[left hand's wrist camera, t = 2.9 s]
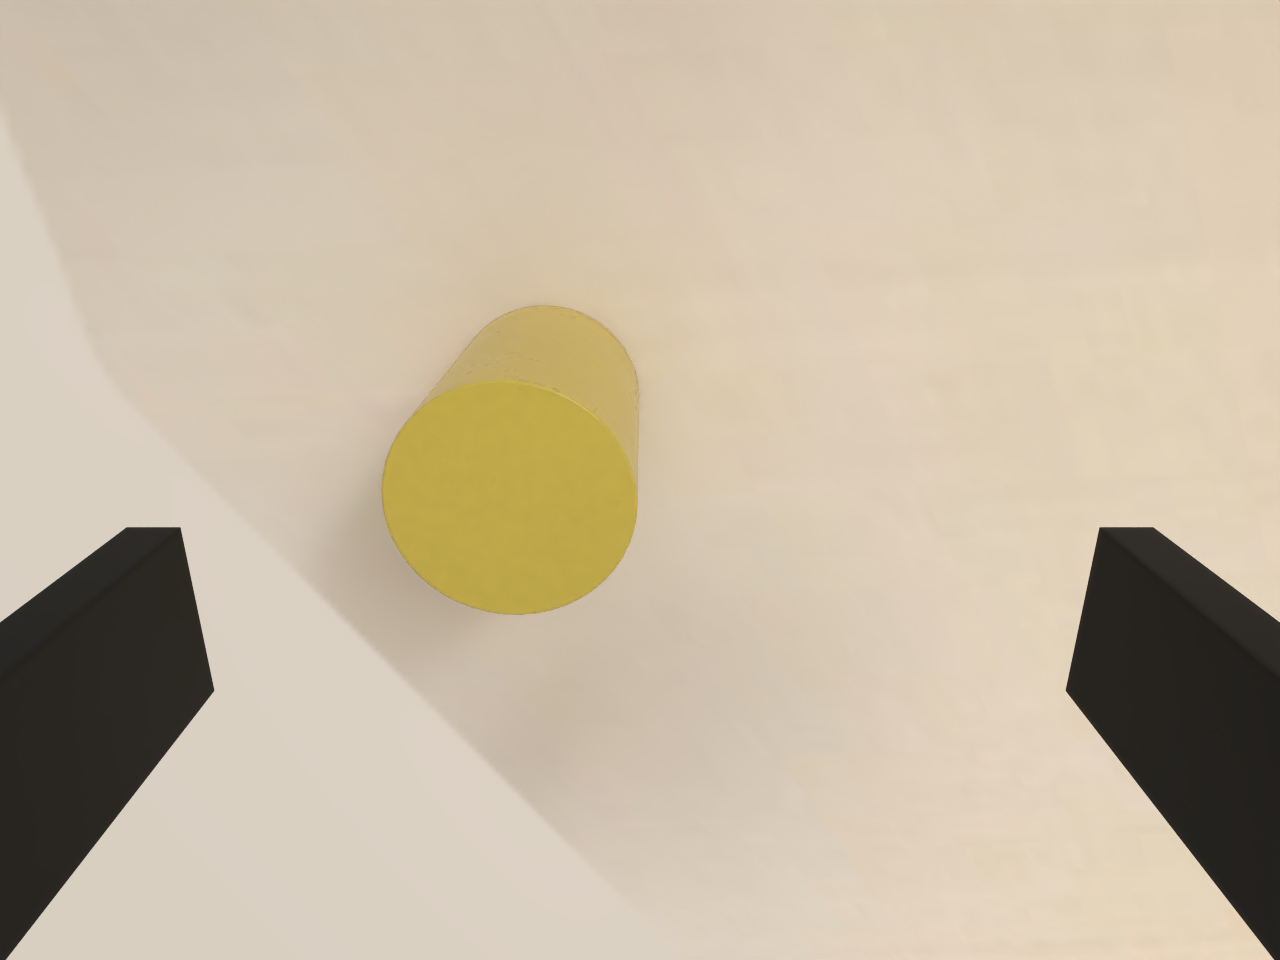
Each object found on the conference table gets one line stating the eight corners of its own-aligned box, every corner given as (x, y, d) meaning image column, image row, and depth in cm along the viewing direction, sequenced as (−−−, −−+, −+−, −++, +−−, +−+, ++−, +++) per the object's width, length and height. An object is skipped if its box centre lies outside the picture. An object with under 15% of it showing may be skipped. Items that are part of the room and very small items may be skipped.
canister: (602, 504, 30) (587, 646, 22) (435, 446, 29) (353, 570, 21) (665, 344, 28) (675, 433, 20) (487, 277, 27) (419, 341, 19)
